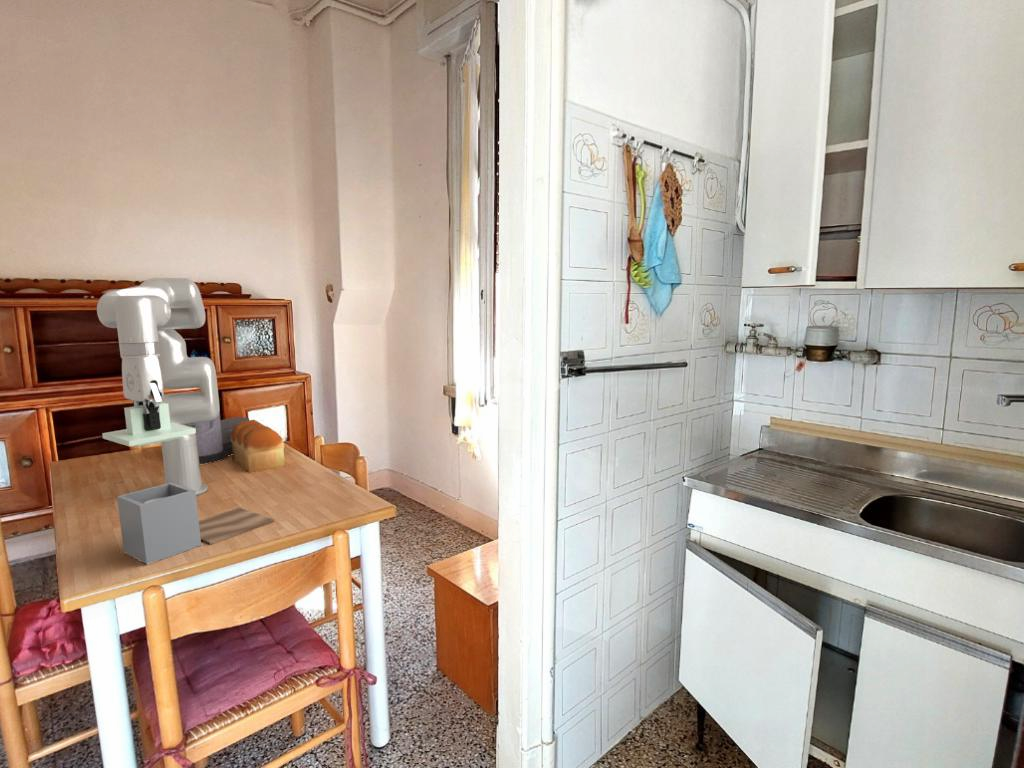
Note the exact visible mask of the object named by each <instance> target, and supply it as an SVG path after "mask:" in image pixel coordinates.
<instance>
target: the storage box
mask: <svg viewBox="0 0 1024 768" xmlns="http://www.w3.org/2000/svg"><path fill="white" fill-rule="evenodd" d="M156 498H162V499H158V500H154V501H151V502H147V503H145V502H146V501H149V500H152V499H156ZM116 500H117V509H118V515H119V517H118V518H119V523H120V532H121V539H122V547H123V553H124V552H126V553H128V554H129V555H131V556H133V557H135V558H137V559H139V560H141V561H143V562H145V563H146V564H148V563H151V562H154V561H157V560H160V559H163V560H165V559H164V558H166V559H168V558H171V557H174V556H176V554H177V555H179V553H180V554H182V553H184V551H185V552H188V551H190V549H191V550H193V549H196V548H198V547H197V546H199V547H201V546H202V541H201V538H200V529H199V521H200V520H199V511H198V501H197V495H196V491H195V490H193V489H190V488H187V487H184V486H181V485H178V484H175V483H172V482H171V483H167V484H166V483H165V484H158V485H156V486H152V487H148V488H147V487H146V488H144V489H141V490H136V491H132V492H128V493H125V494H121V495H118V496H116ZM200 545H201V546H200ZM195 547H196V548H195ZM187 550H188V551H187ZM129 555H128V556H129ZM131 556H130V557H131ZM170 556H171V557H170ZM133 557H132V558H133ZM167 557H168V558H167ZM135 558H134V559H135ZM160 561H161V560H160ZM157 562H158V561H157ZM146 564H145V565H146Z"/></svg>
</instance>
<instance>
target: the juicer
mask: <svg viewBox="0 0 1024 768" xmlns="http://www.w3.org/2000/svg"><path fill="white" fill-rule="evenodd" d="M248 420H250V418H249V417H238V416H236V417H230V418H225V419H221V414H220V412H219V416H218V418H217V419H216V420H213V421H208V422H197V423H189V424H186V426H188V427H192V428H196V433H195V435H196V437H197V445H198V455H199V464H205V463H208V464H210V463H209V462H213V463H215V462H214V461H218V460H221V459H224V458H226V457H227V456H228V455H231V454H233V453H232V443H231V441H230V438H231V431H232V430H233V429H234V427H235V426H236V425H237V424H238V423H240V422H241V421H248ZM227 458H228V457H227ZM227 458H226V459H227ZM224 460H225V459H224ZM221 461H222V460H221ZM218 462H219V461H218ZM205 465H206V464H205Z"/></svg>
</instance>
